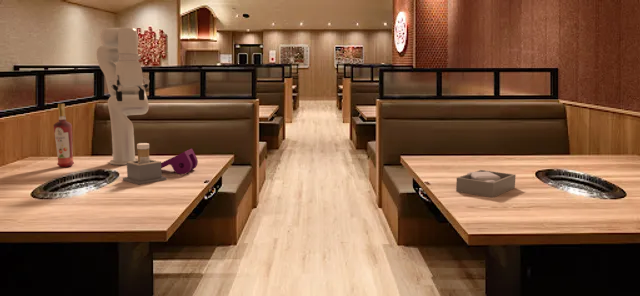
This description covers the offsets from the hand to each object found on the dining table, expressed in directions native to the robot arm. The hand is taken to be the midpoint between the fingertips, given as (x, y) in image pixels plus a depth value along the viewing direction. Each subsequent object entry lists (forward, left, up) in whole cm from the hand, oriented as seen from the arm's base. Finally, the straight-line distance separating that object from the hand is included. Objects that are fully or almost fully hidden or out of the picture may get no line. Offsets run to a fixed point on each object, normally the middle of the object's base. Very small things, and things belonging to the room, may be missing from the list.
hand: (130, 100), depth 214 cm
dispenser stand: (+124, +70, -30) cm, 146 cm away
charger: (+124, +70, -30) cm, 146 cm away
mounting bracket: (+10, +12, -31) cm, 35 cm away
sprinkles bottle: (+17, -5, -30) cm, 34 cm away
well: (+17, -5, -30) cm, 35 cm away
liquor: (-35, -14, -31) cm, 48 cm away
